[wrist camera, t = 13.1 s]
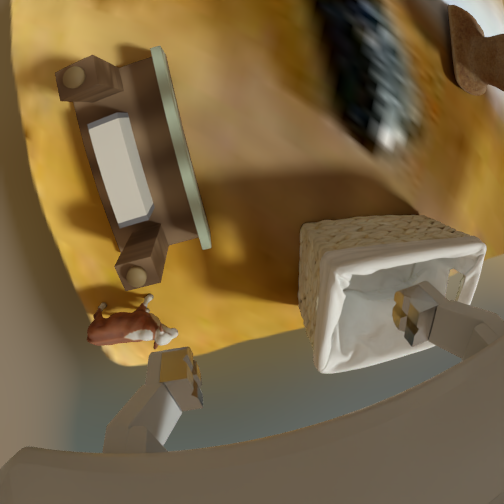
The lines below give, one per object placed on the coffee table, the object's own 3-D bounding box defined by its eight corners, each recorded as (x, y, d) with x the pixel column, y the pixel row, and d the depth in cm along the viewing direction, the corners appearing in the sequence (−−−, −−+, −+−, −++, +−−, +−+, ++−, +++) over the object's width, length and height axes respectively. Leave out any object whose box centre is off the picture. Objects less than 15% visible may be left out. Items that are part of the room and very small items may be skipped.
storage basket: (287, 312, 46) (316, 382, 33) (288, 212, 39) (332, 265, 26) (411, 289, 49) (458, 339, 36) (428, 204, 42) (492, 241, 29)
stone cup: (487, 102, 35) (552, 115, 22) (446, 86, 34) (520, 93, 20) (482, 29, 28) (544, 27, 15) (439, 5, 27) (506, -8, 14)
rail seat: (74, 89, 27) (29, 84, 18) (165, 55, 28) (150, 30, 18) (125, 253, 38) (103, 300, 28) (210, 230, 38) (213, 273, 29)
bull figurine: (181, 314, 43) (179, 352, 36) (100, 321, 42) (87, 357, 35) (175, 289, 42) (172, 326, 34) (91, 298, 40) (75, 333, 33)
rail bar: (100, 122, 29) (87, 124, 25) (127, 112, 29) (117, 112, 25) (128, 215, 35) (119, 228, 31) (154, 207, 35) (148, 219, 31)
